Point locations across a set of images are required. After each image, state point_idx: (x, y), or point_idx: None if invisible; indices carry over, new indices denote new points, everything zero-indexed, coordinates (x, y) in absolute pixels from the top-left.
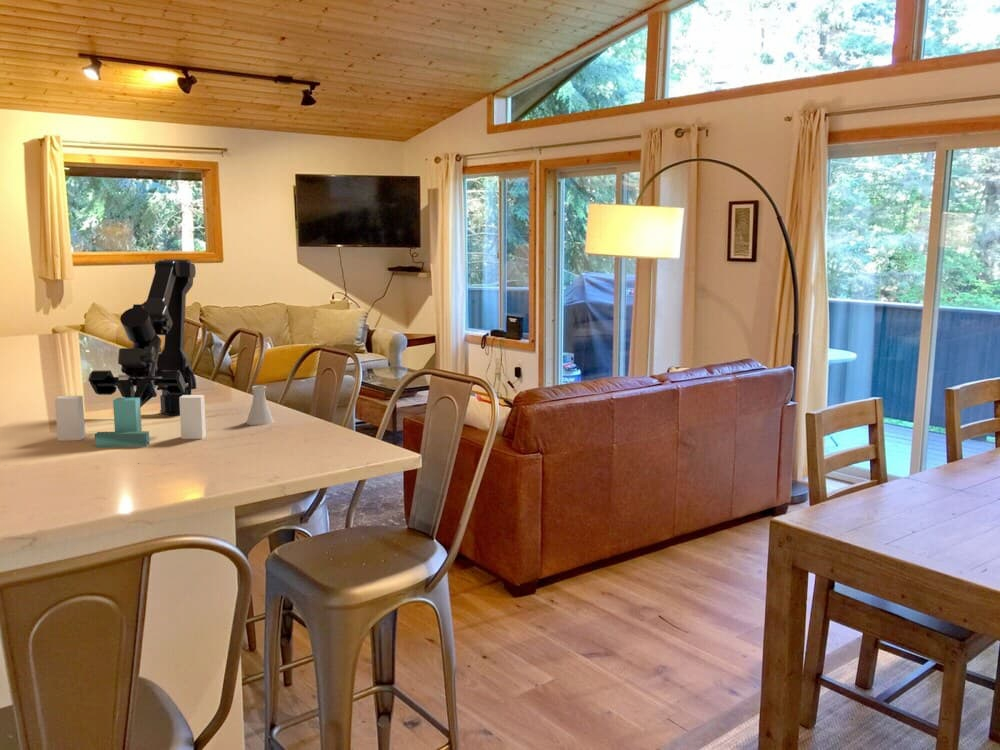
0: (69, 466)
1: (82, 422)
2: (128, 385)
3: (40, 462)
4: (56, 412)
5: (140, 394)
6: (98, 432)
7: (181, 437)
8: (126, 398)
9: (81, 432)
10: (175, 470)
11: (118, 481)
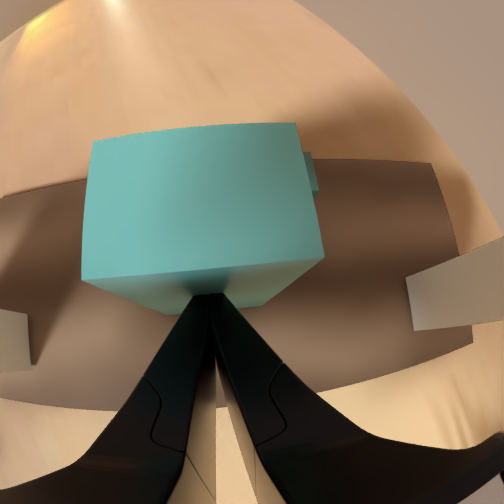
0: (288, 84)
1: (451, 305)
2: (309, 485)
3: (380, 121)
4: None
5: (119, 414)
6: (310, 177)
7: (22, 313)
8: (207, 216)
9: (423, 292)
10: (41, 86)
11: (135, 25)
